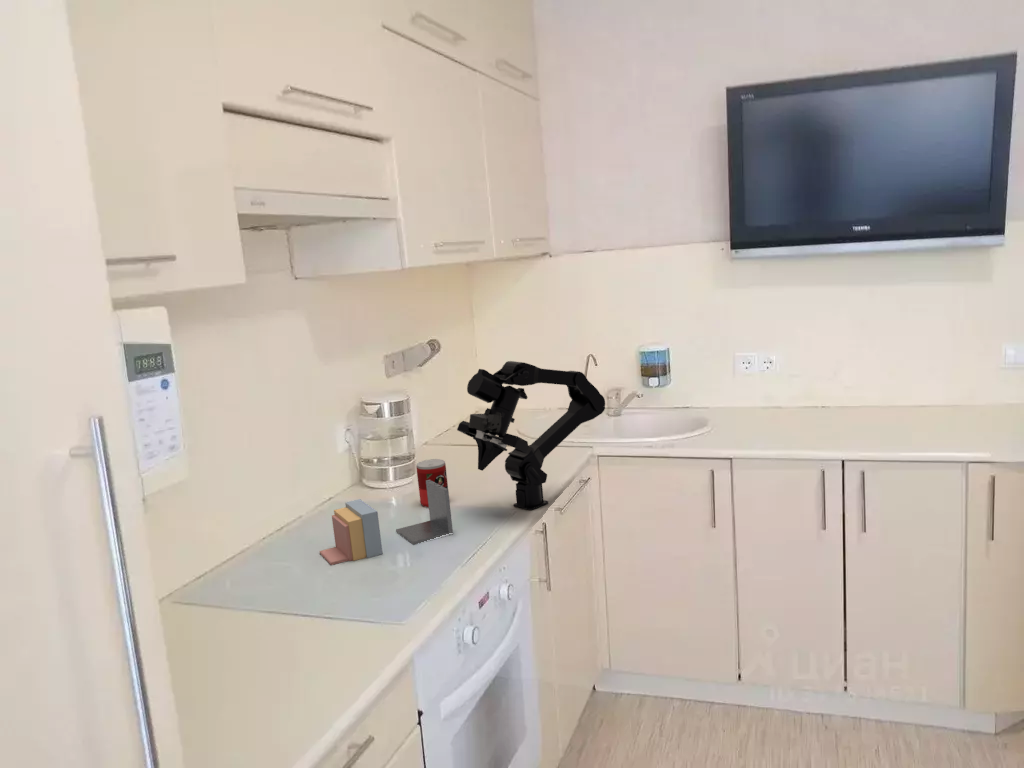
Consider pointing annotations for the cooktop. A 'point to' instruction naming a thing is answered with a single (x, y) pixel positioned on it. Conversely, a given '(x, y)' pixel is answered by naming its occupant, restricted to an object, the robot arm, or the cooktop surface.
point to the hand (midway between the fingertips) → (480, 469)
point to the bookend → (431, 517)
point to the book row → (354, 533)
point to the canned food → (430, 476)
